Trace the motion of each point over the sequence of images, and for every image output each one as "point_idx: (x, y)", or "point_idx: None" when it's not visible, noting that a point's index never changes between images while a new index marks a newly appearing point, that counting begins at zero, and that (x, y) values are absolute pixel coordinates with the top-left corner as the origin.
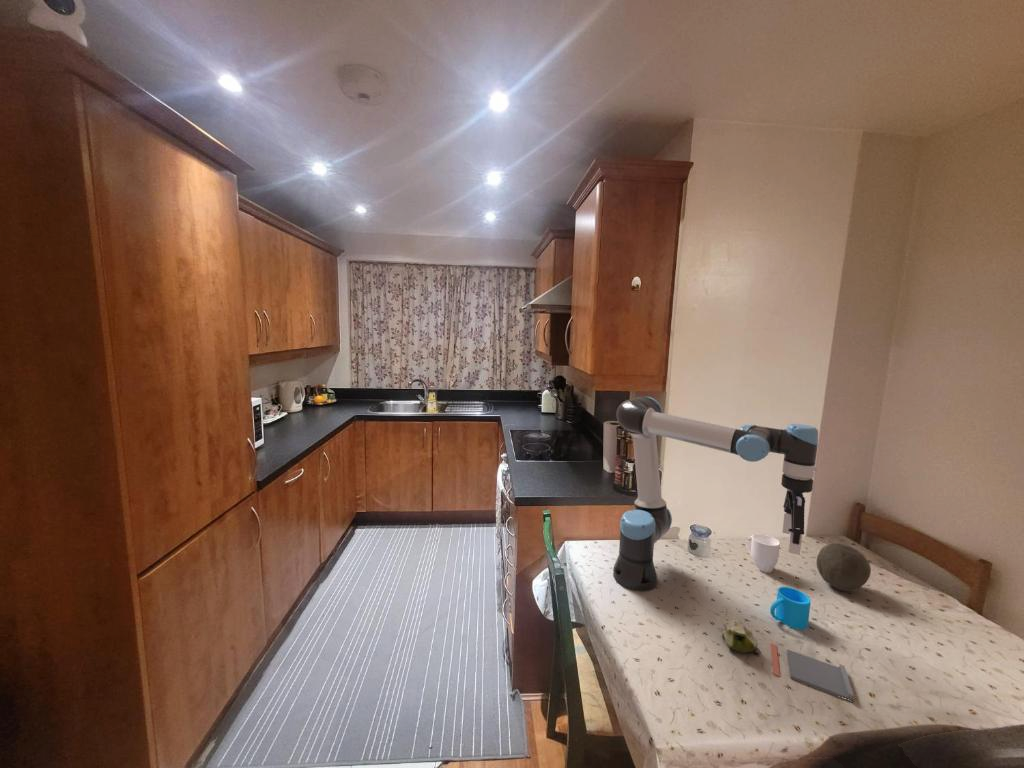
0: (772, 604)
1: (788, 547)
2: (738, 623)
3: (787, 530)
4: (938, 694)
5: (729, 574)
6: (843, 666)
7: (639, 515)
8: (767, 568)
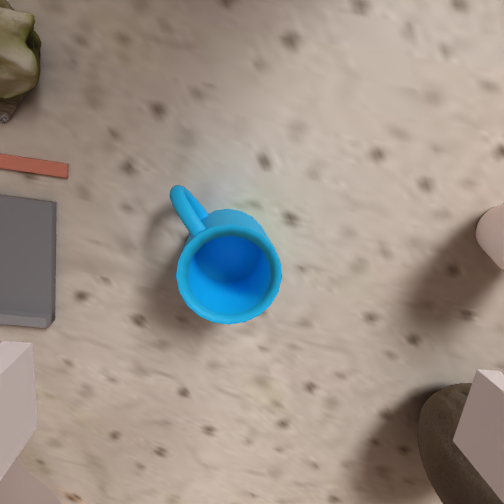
0: (180, 193)
1: (2, 369)
2: None
3: (491, 430)
4: (93, 466)
5: (426, 97)
6: (41, 325)
7: None
8: (482, 237)
